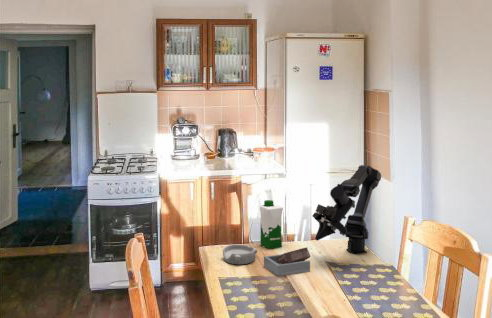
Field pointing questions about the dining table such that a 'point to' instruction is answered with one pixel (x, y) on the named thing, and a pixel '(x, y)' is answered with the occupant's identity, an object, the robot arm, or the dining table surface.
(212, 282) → the dining table surface
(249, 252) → the dish
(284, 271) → the tray
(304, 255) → the box
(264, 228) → the milk carton
